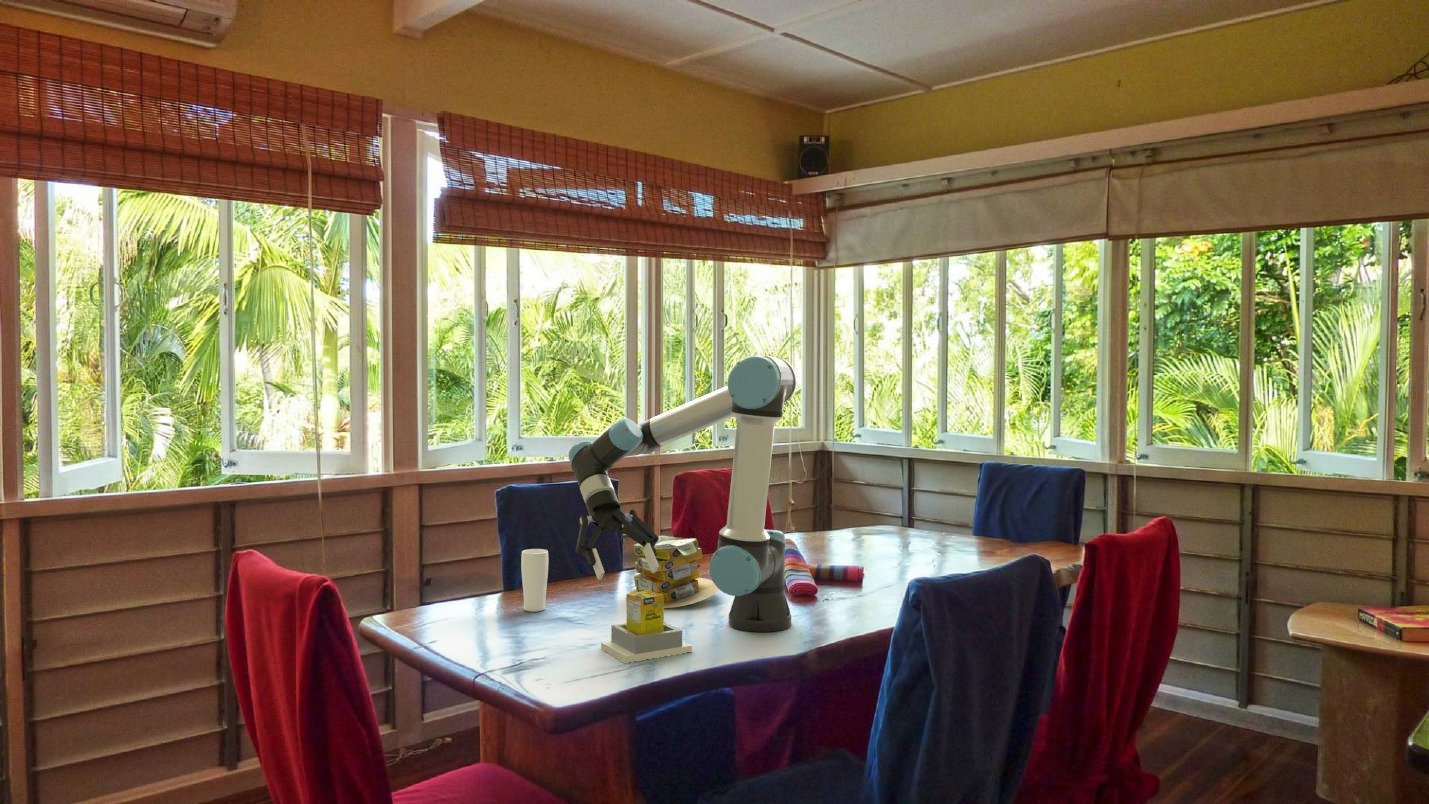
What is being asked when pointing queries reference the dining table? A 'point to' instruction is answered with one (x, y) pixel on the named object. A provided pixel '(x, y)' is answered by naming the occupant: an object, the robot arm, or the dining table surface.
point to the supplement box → (645, 612)
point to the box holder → (644, 644)
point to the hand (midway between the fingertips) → (628, 573)
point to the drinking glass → (534, 578)
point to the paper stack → (673, 572)
